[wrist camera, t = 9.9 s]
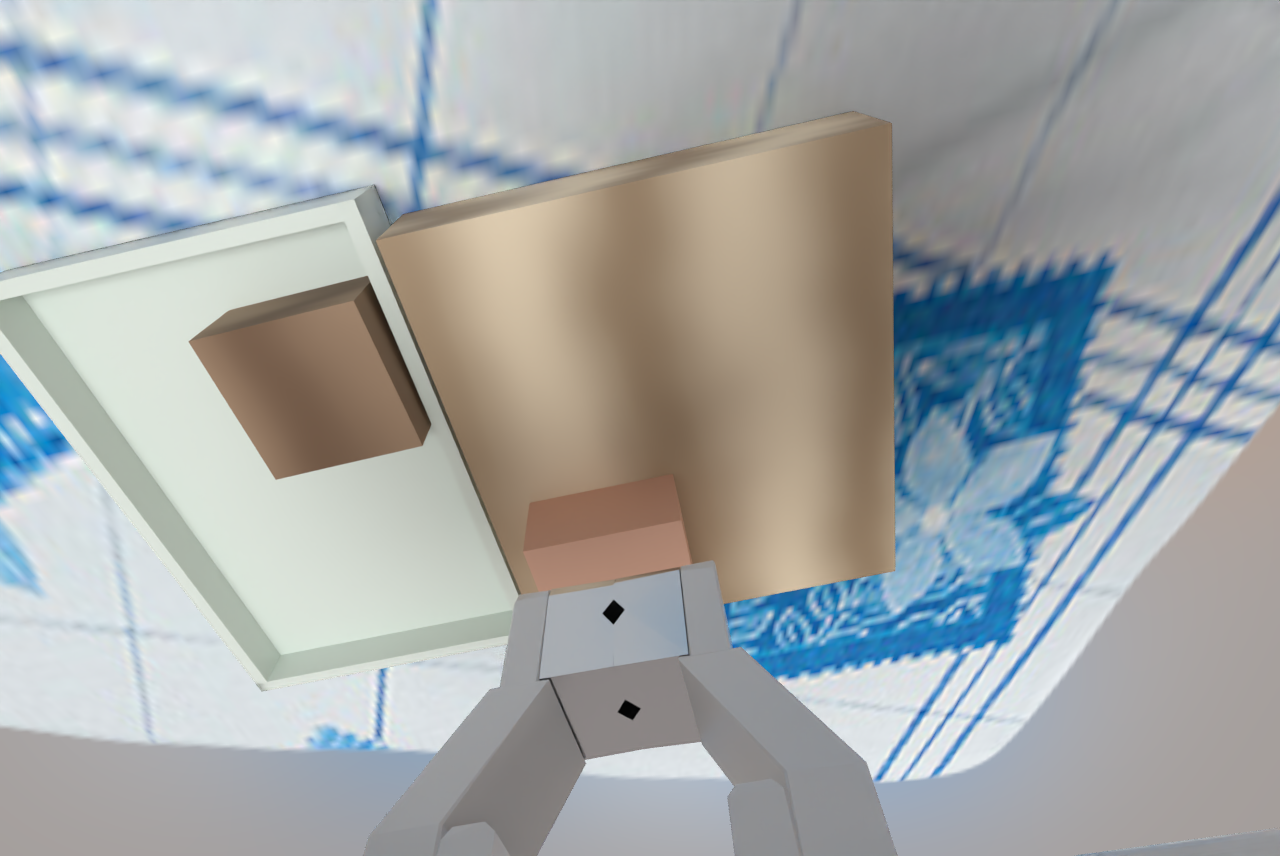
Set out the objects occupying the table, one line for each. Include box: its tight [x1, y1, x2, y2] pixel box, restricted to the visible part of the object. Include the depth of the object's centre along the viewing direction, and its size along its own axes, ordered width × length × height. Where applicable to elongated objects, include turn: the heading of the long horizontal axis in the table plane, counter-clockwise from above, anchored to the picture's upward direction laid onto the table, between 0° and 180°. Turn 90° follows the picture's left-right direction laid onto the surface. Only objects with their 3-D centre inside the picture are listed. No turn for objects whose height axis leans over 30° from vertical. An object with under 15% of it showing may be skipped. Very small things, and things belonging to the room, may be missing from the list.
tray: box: [0, 185, 521, 691], centre depth 24 cm, size 12×18×2 cm, turn 12°
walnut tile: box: [188, 276, 431, 480], centre depth 21 cm, size 5×5×2 cm
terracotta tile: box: [523, 474, 693, 592], centre depth 23 cm, size 5×5×2 cm
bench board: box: [376, 111, 895, 604], centre depth 23 cm, size 14×16×3 cm
